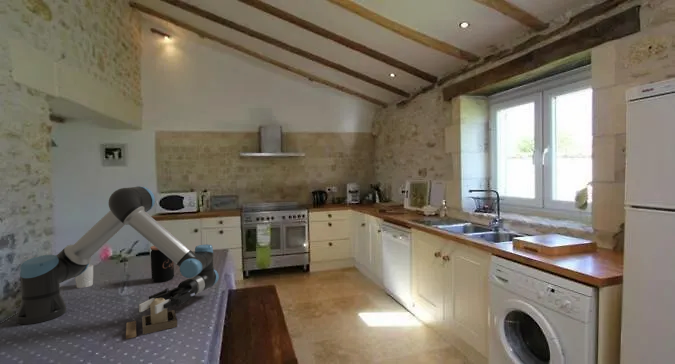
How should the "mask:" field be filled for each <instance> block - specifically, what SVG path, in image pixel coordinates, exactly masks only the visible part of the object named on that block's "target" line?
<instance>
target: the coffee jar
mask: <svg viewBox="0 0 675 364" xmlns="http://www.w3.org/2000/svg"><path fill="white" fill-rule="evenodd" d="M150 250H151V251H150V268H151V271H150V272H151V281H152V282H154V283H165V282H166V283H167V282H170V281H172V280H173V278H175V266H174V265H175V263H174V262H173V261H172V260H171V259H170V258H168V257H167V256H166V255H165V254H164V253H162V252H161V251H160V250H159V249H158V248H156V247H155V246H154V245H152V246H150Z"/></svg>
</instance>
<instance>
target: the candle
mask: <svg viewBox="0 0 675 364" xmlns="http://www.w3.org/2000/svg"><path fill="white" fill-rule="evenodd" d="M164 301H166V300H165V299H164V298H156V299H155V300H154V301H153V302H152V303H151V304H150V308H149V310H150V315H151V322H150V325H152V324H156V323H161V322H165V321H169V318H168V314H167V311H168V308H166V309H165V310H163V311H161V312H159V313H157V314H155V306H156V305H158V304H160V303H162V302H164Z"/></svg>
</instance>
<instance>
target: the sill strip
mask: <svg viewBox="0 0 675 364" xmlns="http://www.w3.org/2000/svg"><path fill="white" fill-rule="evenodd" d="M125 327H126V329H125V339H126V340H128V339H132V338H133V339H134V338H136V337H137V321H136V320H133V321H128V322H126V325H125Z"/></svg>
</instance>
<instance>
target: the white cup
mask: <svg viewBox="0 0 675 364" xmlns="http://www.w3.org/2000/svg"><path fill="white" fill-rule="evenodd" d="M74 280H75V284H76V288H77V289H83V288H89V287H92V286H93V285H94V264H89V265H88V267H87V269H86V270H85V271H84V272H83V273H82V274H80V275H79V276H77V277H74Z"/></svg>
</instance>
